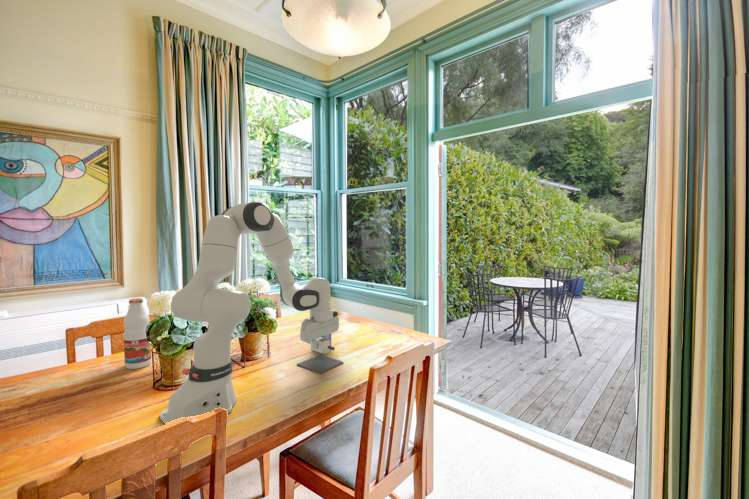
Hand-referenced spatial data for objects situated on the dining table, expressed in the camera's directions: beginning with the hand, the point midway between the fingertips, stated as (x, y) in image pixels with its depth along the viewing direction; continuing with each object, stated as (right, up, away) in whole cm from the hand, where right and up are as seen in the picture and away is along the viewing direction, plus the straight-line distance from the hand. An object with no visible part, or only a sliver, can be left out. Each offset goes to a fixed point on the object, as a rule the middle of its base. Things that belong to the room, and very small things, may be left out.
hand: (320, 346), depth 155 cm
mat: (0, -8, 0) cm, 8 cm away
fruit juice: (-76, -7, -3) cm, 76 cm away
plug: (0, -2, 0) cm, 2 cm away
